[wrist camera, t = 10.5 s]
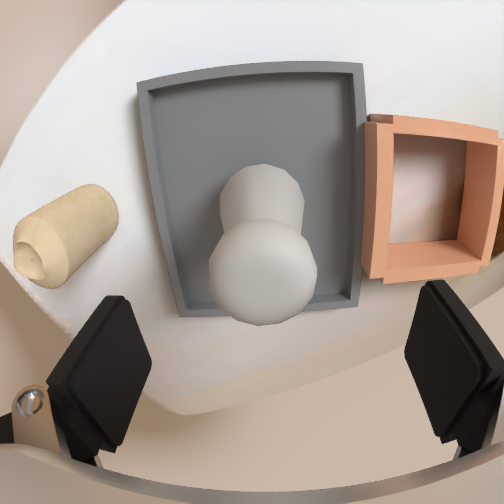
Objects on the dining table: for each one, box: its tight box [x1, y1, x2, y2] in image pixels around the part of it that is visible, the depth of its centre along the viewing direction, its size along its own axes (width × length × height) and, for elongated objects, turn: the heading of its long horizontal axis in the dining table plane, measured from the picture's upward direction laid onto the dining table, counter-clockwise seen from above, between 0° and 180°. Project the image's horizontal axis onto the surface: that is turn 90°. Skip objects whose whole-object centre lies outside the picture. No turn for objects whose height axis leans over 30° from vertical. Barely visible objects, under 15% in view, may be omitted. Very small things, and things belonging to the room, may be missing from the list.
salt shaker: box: [209, 164, 317, 326], centre depth 17 cm, size 6×6×13 cm
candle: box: [13, 184, 119, 289], centre depth 20 cm, size 6×6×10 cm
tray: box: [137, 61, 367, 317], centre depth 22 cm, size 16×20×2 cm
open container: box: [361, 114, 504, 284], centre depth 20 cm, size 12×12×4 cm
